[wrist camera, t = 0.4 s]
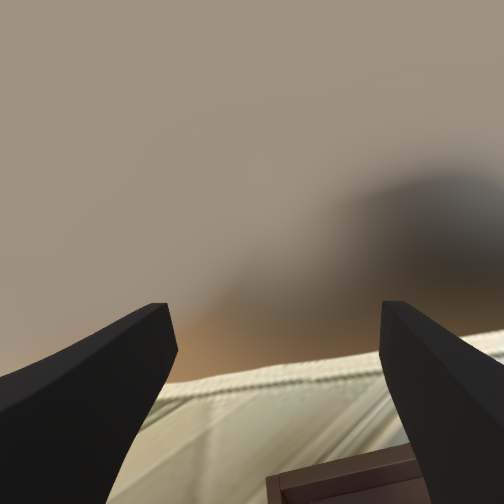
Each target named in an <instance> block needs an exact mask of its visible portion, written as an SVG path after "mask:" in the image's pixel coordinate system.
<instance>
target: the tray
mask: <svg viewBox="0 0 504 504" xmlns="http://www.w3.org/2000/svg"><path fill="white" fill-rule="evenodd" d="M266 487H267V498H268V504H432V503H431V500H430V497H429V494H428V490H427V487H426V484H425V481H424V478H423V475H422V473H421V470H420V467H419V464H418V462H417V459H416V457H415V454H414V452H413V449H412V447H411V444H410V443H408V444H403V445H399V446H395V447H391V448H386V449H382V450H378V451H374V452H369V453H365V454H361V455H356V456H352V457H348V458H344V459H339V460H335V461H331V462H327V463H322V464H318V465H314V466H310V467H305V468H301V469H297V470H293V471H288V472H284V473H280V474H279V475H278V474H277V475H273V476H268V477H266Z"/></svg>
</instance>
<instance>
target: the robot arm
mask: <svg viewBox="0 0 504 504" xmlns="http://www.w3.org/2000/svg"><path fill="white" fill-rule="evenodd" d="M177 352H178V347H177V343H176V339H175V334H174V330H173V325H172V321H171V317H170V312H169V308H168V305H167V303H151V304H149V305H146V306H144V307H142V308H140V309H138V310H136V311H134V312H132V313H130V314H128V315H127V316H125V317H123V318H121V319H119V320H117V321H116V322H114V323H112V324H110V325H109V326H107V327H105V328H103V329H101V330H99V331H98V332H96V333H94V334H92V335H90V336H88V337H86V338H84V339H82V340H80V341H79V342H77V343H75V344H73V345H71V346H69V347H67V348H65V349H63V350H61V351H59V352H57V353H55V354H53V355H51V356H49V357H46V358H45V359H42V360H40V361H38V362H35V363H33V364H31V365H29V366H26V367H24V368H22V369H19V370H17V371H15V372H12V373H10V374H7V375H4V376H2V377H0V504H106V501H107V499H108V496H109V494H110V491H111V489H112V487H113V484H114V482H115V480H116V477H117V475H118V473H119V471H120V468H121V466H122V464H123V461H124V459H125V457H126V455H127V453H128V451H129V449H130V447H131V445H132V443H133V441H134V439H135V437H136V435H137V433H138V431H139V430H140V428H141V426H142V424H143V422H144V420H145V419H146V417H147V415H148V413H149V411H150V409H151V408H152V406H153V404H154V402H155V400H156V399H157V397H158V395H159V393H160V391H161V389H162V387H163V386H164V384H165V382H166V380H167V378H168V376H169V373H170V371H171V368H172V366H173V363H174V361H175V358H176V355H177ZM379 357H380V361H381V365H382V369H383V373H384V376H385V380H386V384H387V387H388V389H389V392H390V394H391V397H392V399H393V402H394V404H395V407H396V410H397V412H398V414H399V417H400V419H401V422H402V424H403V427H404V429H405V432H406V434H407V437H408V439H409V442H410V444H411V447H412V449H413V452H414V454H415V457H416V459H417V462H418V464H419V467H420V470H421V473H422V475H423V478H424V481H425V484H426V487H427V490H428V494H429V497H430V500H431V503H432V504H504V365H503V364H501V363H500V362H498V361H496V360H495V359H493V358H491V357H490V356H488V355H486V354H484V353H483V352H481V351H479V350H478V349H476V348H474V347H473V346H471V345H470V344H468V343H466V342H465V341H463V340H462V339H460V338H459V337H457V336H456V335H454V334H452V333H451V332H449V331H448V330H446V329H445V328H443V327H442V326H440V325H439V324H437V323H436V322H435V321H433V320H432V319H430V318H429V317H427V316H426V315H424V314H423V313H421V312H420V311H418V310H417V309H415V308H414V307H412V306H411V305H409V304H408V303H406V302H404V301H382V313H381V329H380V347H379Z"/></svg>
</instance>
